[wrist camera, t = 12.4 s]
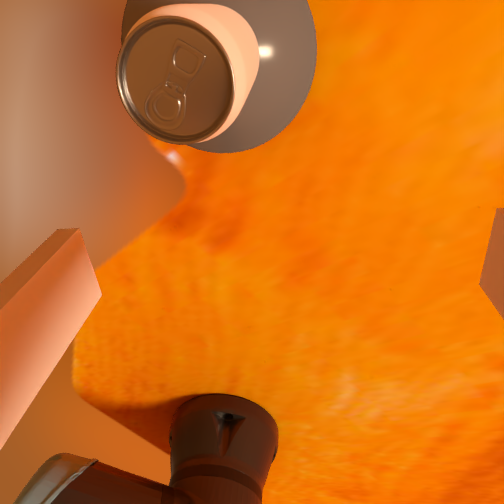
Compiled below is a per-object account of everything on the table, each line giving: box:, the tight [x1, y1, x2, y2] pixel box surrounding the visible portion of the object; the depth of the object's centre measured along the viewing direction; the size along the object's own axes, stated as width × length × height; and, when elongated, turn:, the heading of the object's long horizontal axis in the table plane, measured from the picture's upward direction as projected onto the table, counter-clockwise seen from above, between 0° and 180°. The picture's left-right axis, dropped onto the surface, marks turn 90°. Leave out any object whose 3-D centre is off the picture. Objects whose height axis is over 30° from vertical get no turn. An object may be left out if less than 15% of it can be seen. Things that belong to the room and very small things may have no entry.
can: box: [116, 4, 260, 145], centre depth 24 cm, size 6×6×12 cm
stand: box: [121, 0, 317, 153], centre depth 31 cm, size 14×14×4 cm
